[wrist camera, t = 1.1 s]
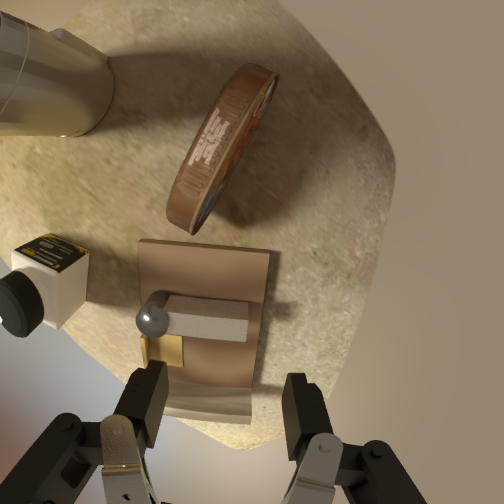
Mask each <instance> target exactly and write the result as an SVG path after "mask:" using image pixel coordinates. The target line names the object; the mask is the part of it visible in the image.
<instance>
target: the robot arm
mask: <svg viewBox="0 0 504 504" xmlns="http://www.w3.org/2000/svg"><path fill="white" fill-rule="evenodd" d="M107 63H108V56H106V55H105V54H103V53H102V52H100V51H99V50H97V49H96V48H94V47H92V46H91V45H89V44H88V43H86V42H85V41H83V40H81V39H80V38H78V37H76V36H75V35H73V34H71V33H70V32H68V31H66V30H65V29H61V28H60V29H56V30H53V31H51V32H47V31H45V30H43V29H41V28H39V27H36V26H35V25H32V24H30V23H28V22H26V21H23V20H21V19H19V18H17V17H14V16H12V15H10V14H8V13H5V12H3V11H0V136H56V137H76V136H80V135H83V134H85V133H87V132H88V131H90V130H91V129H92V128H94V127H95V126H96V125H97V124H98V123H99V122H100V121H101V119H102V118H103V116H104V115H105V113H106V112H107V110H108V108H109V106H110V103H111V100H112V97H113V91H114V79H113V75H112V72H111V71H110V69H109V67H108V65H107ZM168 393H169V379H168V370H167V363H166V362H165V361H159V360H153V359H150V360H149V362H148V365H147V367H146V369H143V368H138V369H137V370H135V371H134V372H133V373H132V374H131V376H130V378H129V380H128V383H127V384H126V386H125V390H124V391H123V393H122V395H121V398H120V400H119V402H118V404H117V407H116V409H115V411H114V413H113V415H110V416H108V417H106V418H104V419H103V420H102V422H81V420H80V418H79V417H78V416H76V415H75V414H72V413H62V414H60V415H58V416H57V417H56V418H55V419H54V420H53V421H52V422H51V423H50V425H49V426H48V427H47V428H46V429H45V430H44V432H43V433H42V434H41V435H40V436H39V438H38V439H37V440H36V441H35V442H34V443H33V445H32V446H31V447H30V448H29V450H28V451H27V452H26V453H25V454H24V456H23V457H22V458H21V459H20V461H19V462H18V463H17V464H16V466H15V467H14V468H13V469H12V471H11V472H10V473H9V474H8V476H7V477H6V478H5V479H4V481H3V482H2V483H1V484H0V504H74V502H75V501H76V499H77V498H78V496H79V495H80V493H81V491H82V490H83V488H84V487H85V485H86V484H87V482H88V480H89V479H90V477H91V476H92V474H93V473H94V471H95V469H96V468H97V466H98V465H104V468H102V470H101V472H102V480H103V486H104V492H105V497H106V502H107V504H159V503H158V500H157V498H156V495H155V492H154V490H153V487H152V483H151V480H150V476H149V472H148V469H147V465H146V461H145V457H144V454H145V450H146V447H147V448H151V449H153V448H154V444H155V440H156V437H157V433H158V430H159V426H160V422H161V419H162V415H163V411H164V408H165V404H166V401H167V397H168ZM282 411H283V419H284V427H285V434H286V442H287V450H288V457H289V461H293V460H295V461H296V464H297V468H296V470H295V472H294V474H293V477H292V479H291V482H290V484H289V486H288V489H287V491H286V493H285V496H284V498H283V500H282V502H281V504H332V502H333V499H334V495H335V488H334V485H341V487H342V489H343V491H344V493H345V495H346V497H347V499H348V501H349V503H350V504H427V503H426V501H425V500H424V498H423V496H422V495H421V494H420V492H419V490H418V489H417V487H416V486H415V484H414V483H413V481H412V480H411V478H410V476H409V475H408V474H407V472H406V470H405V469H404V467H403V466H402V464H401V463H400V461H399V460H398V458H397V457H396V455H395V454H394V452H393V451H392V449H391V448H390V446H389V445H388V444H387V443H385V442H383V441H380V440H373V441H369V442H367V443H366V444H365V445H364V446H358V445H350V444H346V443H343V442H341V440H340V439H339V438H338V437H337V436H335V435H334V433H333V430H332V426H331V423H330V420H329V416H328V413H327V409H326V405H325V402H324V398H323V395H322V392H321V390H320V389H319V388H318V386H317V385H316V384H315V383H307V379H306V375H305V373H288V375H287V378H286V382H285V386H284V390H283V394H282ZM161 504H171V503H165V502H161Z"/></svg>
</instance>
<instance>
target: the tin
mask: <svg viewBox="0 0 504 504" xmlns="http://www.w3.org/2000/svg"><path fill="white" fill-rule="evenodd" d="M279 77H280V75H279V73H274V72H272V71H270V70H268V69H265V68H263V67H261V66H258V65H256V64H252V63H248V64H245V65H243V66H242V67H241V68H239V69H238V70H237V71H236V72H235V73H234V74H233V75H232V77H231V78H230V79H229V81H228V82H227V83H226V85H225V86H224V88H223V89H222V91H221V92H220V94H219V96H218V98H217V99H216V101H215V103H214V104H213V106H212V108H211V110H210V111H209V113H208V115H207V117H206V119H205V120H204V122H203V124H202V126H201V128H200V130H199V131H198V133H197V135H196V137H195V139H194V141H193V143H192V145H191V147H190V149H189V151H188V153H187V155H186V158H185V160H184V161H183V164H182V166H181V168H180V170H179V172H178V175H177V177H176V179H175V181H174V184H173V186H172V189H171V192H170V195H169V198H168V201H167V207H166V217H167V219H168V221H169V222H171V223H172V224H174V225H176V226H178V227H179V228H181V229H183V230H185V231H187V232H189V233H190V234H191V235H192V236H193V235H195V234H196V233H197V232H198V231H199V229H200V228H201V226H202V225H203V223H204V222H205V220H206V219H207V217H208V216H209V214H210V213H211V211H212V210H213V208H214V206H215V204H216V202H217V201H218V199H219V197H220V195H221V193H222V191H223V189H224V187H225V185H226V184H227V182H228V180H229V178H230V176H231V174H232V172H233V170H234V168H235V166H236V164H237V162H238V161H239V159H240V157H241V155H242V153H243V151H244V150H245V148H246V146H247V144H248V142H249V140H250V139H251V137H252V135H253V133H254V131H255V130H256V128H257V126H258V124H259V122H260V121H261V119H262V117H263V115H264V113H265V111H266V109H267V107H268V105H269V103H270V101H271V99H272V96H273V94H274V92H275V89H276V87H277V84H278V81H279Z"/></svg>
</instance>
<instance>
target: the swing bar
mask: <svg viewBox="0 0 504 504" xmlns="http://www.w3.org/2000/svg"><path fill="white" fill-rule="evenodd" d="M136 325H137V327H138V329H139V330H140V331H141V332H142V333H143V334H144V335H146V336H148V337H151V338H159V337H162V336H164V335H165V333H167V334H174V335H182V336H190V337H199V338H208V339H217V340H228V341H240V342H246V336H247V327H248V302H236V301H225V300H214V299H204V298H194V297H185V296H177V295H170V294H169V293H167V292H165V291H155V292H153V293H151V294H150V296H149V297H148V299H147V300H146V302H145V303H144V305H143V307H142V308H141V310H140V311H139V313H138V314H137V316H136Z"/></svg>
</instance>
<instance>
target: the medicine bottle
mask: <svg viewBox="0 0 504 504" xmlns="http://www.w3.org/2000/svg"><path fill="white" fill-rule="evenodd" d="M89 256H90V252H89V250H87V249H84V248H82V247H79V246H77V245H74V244H72V243H69V242H67V241H64V240H62V239H60V238H57V237H55V236H52V235H50V234H45V235H43V236H41V237H38V238H36V239H34V240H32V241H30V242H28V243H26V244H24V245H22V246H20V247H18V248H16V249H15V250H13V251H12V271H11V272H10V273H8V274H6V275H5V276H3V277H2V278H0V322H1V324H2V325H3V326H4V328H5V329H7V331H9V332H10V333H11V334H13V335H14V336H17V337H22V338H23V337H27V336H28V335H29V334H30V333H31V332H32V331H33V330H34V329H35V328H36V327H37V326H38V325H39V324H40V323H41V322H44V323H45V324H47V325H49V326H51V327H53V328H55V329H60V328H61V326H62V325H63V324H64V323H65V322H66V321H67V320H68V319H69V318H70V317H71V316H72V315H73V314H74V313H75V312H76V311H77V310H78V309H79V308H80V307H81V306H82V305H83V303H84V302H85V301H86V290H87V276H88V265H89Z"/></svg>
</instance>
